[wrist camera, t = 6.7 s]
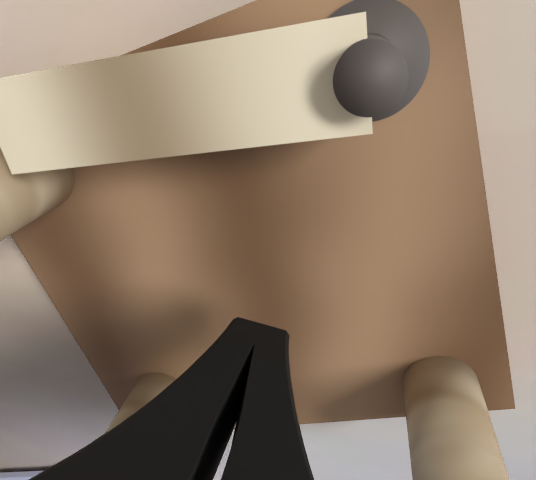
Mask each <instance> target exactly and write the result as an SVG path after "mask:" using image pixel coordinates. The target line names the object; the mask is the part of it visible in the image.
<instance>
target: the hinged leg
mask: <svg viewBox="0 0 536 480" xmlns="http://www.w3.org/2000/svg"><path fill="white" fill-rule="evenodd" d="M408 77H409V73H408V66H407V63H406V60H405V58H404V56H403V54H402V53H401V52H400V50H398V49H397V48H396V47H395V46H394V45H393V44H392V43H391V42H390V41H389V40H388V39H387V38H385V37H384V36H382V35H379V34H375V33H367V20H366V12H361V13H355V14H350V15H344V16H339V17H333V18H328V19H322V20H316V21H311V22H305V23H300V24H294V25H289V26H283V27H278V28H272V29H267V30H261V31H256V32H250V33H245V34H239V35H234V36H228V37H223V38H217V39H211V40H206V41H200V42H195V43H189V44H184V45H178V46H173V47H167V48H162V49H156V50H151V51H145V52H140V53H134V54H129V55H123V56H117V57H112V58H106V59H101V60H95V61H90V62H84V63H79V64H73V65H68V66H62V67H57V68H51V69H46V70H40V71H35V72H29V73H24V74H18V75H12V76H7V77H1V78H0V148H1V150H2V152H3V155H4V157H5V159H6V162H7V164H8V166H9V169H10V171H11V173H12V174H21V173H30V172H39V171H48V170H57V169H66V168H75V167H83V166H92V165H101V164H110V163H119V162H128V161H137V160H146V159H154V158H163V157H172V156H181V155H190V154H199V153H208V152H216V151H225V150H234V149H243V148H252V147H261V146H270V145H279V144H287V143H296V142H305V141H314V140H323V139H332V138H341V137H349V136H358V135H367V134H373V128H372V117H376V116H379V115H382V114H384V113H386V112H388V111H390V110H391V109H392V108H393V107H395V106H396V105H397V104H398V102H399V101H400V100H401V98H402V97H403V95H404V93H405V91H406V88H407V85H408Z"/></svg>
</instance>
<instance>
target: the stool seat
mask: <svg viewBox="0 0 536 480" xmlns="http://www.w3.org/2000/svg"><path fill="white" fill-rule="evenodd" d="M361 12H366V20H367V33H375V34H379V35H382V36H384V37H385V38H387V39H388V40H389V41H390V42H391V43H392V44H393V45H394V46H395V47H396V48H397V49H398V50H400V52H401V53H402V54H403V56H404V58H405V60H406V63H407V66H408V73H409V77H408V85H407V88H406V91H405V93H404V95H403V97H402V98H401V100H400V101H399V102H398V104H397V105H396V106H395V107H393V108H392V109H391V110H390V111H388V112H386V113H384V114H382V115H379V116H376V117H372V128H373V134H367V135H358V136H349V137H341V138H332V139H323V140H314V141H305V142H296V143H287V144H279V145H270V146H261V147H252V148H243V149H234V150H225V151H216V152H208V153H199V154H190V155H181V156H172V157H163V158H154V159H146V160H137V161H128V162H119V163H110V164H101V165H92V166H83V167H75V168H66V169H57V170H48V171H39V172H30V173H21V174H12V173H11V171H10V169H9V166H8V164H7V162H6V159H5V157H4V155H3V152H2V150H1V148H0V241H1V240H2V239H4V238H6V237H7V236H9V235H11V236H12V237H13V239H14V241H15V242H16V244H17V245H18V247H19V249H20V250H21V252H22V253H23V255H24V257H25V258H26V260H27V262H28V263H29V265H30V266H31V268H32V270H33V271H34V273H35V275H36V276H37V278H38V279H39V281H40V283H41V284H42V286H43V287H44V289H45V291H46V292H47V294H48V296H49V297H50V299H51V300H52V302H53V304H54V305H55V307H56V309H57V310H58V312H59V313H60V315H61V317H62V318H63V320H64V321H65V323H66V325H67V326H68V328H69V330H70V331H71V333H72V334H73V336H74V338H75V339H76V341H77V343H78V344H79V346H80V347H81V349H82V351H83V352H84V354H85V355H86V357H87V359H88V360H89V362H90V364H91V365H92V367H93V368H94V370H95V372H96V373H97V375H98V376H99V378H100V380H101V381H102V383H103V385H104V386H105V388H106V389H107V391H108V393H109V394H110V396H111V398H112V399H113V401H114V402H115V404H116V406H117V407H118V409H119V412H118V413H117V415H116V416H115V418H114V420H113V421H112V423H111V424H110V426H109V428H108V429H107V431H106V432H105V433H107V432H108V431H110V430H111V429H113V428H114V427H116V426H117V425H119V424H120V423H122V422H123V421H124V420H126V419H127V418H128V417H130V416H131V415H133V414H134V413H135V412H137V411H138V410H139V409H141V408H142V407H143V406H145V405H146V404H147V403H148V402H150V401H151V400H152V399H153V398H155V397H156V396H157V395H158V394H160V393H161V392H162V391H163V390H164V389H165V388H166V387H168V386H169V385H170V384H171V383H172V382H173V381H175V380H176V379H177V378H178V377H179V376H180V375H182V374H183V373H184V372H185V371H186V370H187V369H188V368H189V367H190V366H191V365H192V364H193V363H194V362H195V361H196V360H197V359H198V358H199V357H200V356H201V355H202V354H203V353H204V352H205V351H206V350H207V349H208V348H209V347H210V346H211V345H212V344H213V343H214V342H215V341H216V340H217V339H218V337H219V336H220V335H221V334H222V333H223V332H224V330H225V329H226V328H227V327H228V325H229V324H230V323H231V321H232V320H233V319H235V318H237V317H240V318H244V319H247V320H251V321H254V322H258V323H262V324H265V325H269V326H272V327H276V328H279V329H283V330H286V331H287V332H288V334H289V335H290V337H289V365H290V376H291V383H292V390H293V396H294V402H295V408H296V412H297V417H298V422H299V424H310V423H324V422H337V421H351V420H365V419H379V418H392V417H406V420H407V429H408V439H409V448H410V458H411V467H412V477H413V480H509V477H508V473H507V470H506V467H505V464H504V460H503V457H502V454H501V451H500V448H499V445H498V441H497V438H496V435H495V432H494V429H493V425H492V422H491V419H490V416H489V413H488V411H489V410H502V409H515V403H514V396H513V389H512V381H511V374H510V367H509V359H508V352H507V345H506V338H505V330H504V323H503V316H502V309H501V301H500V294H499V287H498V280H497V272H496V265H495V258H494V250H493V243H492V236H491V229H490V221H489V214H488V207H487V200H486V192H485V185H484V178H483V171H482V163H481V156H480V149H479V141H478V134H477V127H476V120H475V112H474V105H473V98H472V91H471V83H470V76H469V69H468V61H467V54H466V47H465V40H464V32H463V25H462V18H461V11H460V3H459V0H256V1H254V2H251V3H249V4H246V5H244V6H242V7H239V8H237V9H234V10H232V11H229V12H227V13H224V14H222V15H219V16H217V17H215V18H212V19H210V20H207V21H205V22H202V23H200V24H197V25H195V26H192V27H190V28H188V29H185V30H183V31H180V32H178V33H175V34H173V35H170V36H168V37H165V38H163V39H161V40H158V41H156V42H153V43H151V44H148V45H146V46H143V47H141V48H138V49H136V50H133V51H131V52H129V53H126V54H124V55H129V54H134V53H140V52H145V51H151V50H156V49H162V48H167V47H173V46H178V45H184V44H189V43H195V42H200V41H206V40H211V39H217V38H223V37H228V36H234V35H239V34H245V33H250V32H256V31H261V30H267V29H272V28H278V27H283V26H289V25H294V24H300V23H305V22H311V21H316V20H322V19H328V18H333V17H339V16H344V15H350V14H355V13H361ZM121 56H123V55H121ZM235 427H236V424H235ZM235 427H234V429H235Z"/></svg>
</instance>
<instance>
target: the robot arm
mask: <svg viewBox="0 0 536 480" xmlns="http://www.w3.org/2000/svg"><path fill="white" fill-rule="evenodd" d="M289 337H290V335H289V334H288V332H287V331H286V330H283V329H279V328H276V327H272V326H269V325H265V324H262V323H258V322H254V321H251V320H247V319H244V318H240V317H237V318H235V319H233V320H232V321H231V323H230V324H229V325H228V327H227V328H226V329H225V330H224V332H223V333H222V334H221V335H220V336H219V337H218V339H217V340H216V341H215V342H214V343H213V344H212V345H211V346H210V347H209V348H208V349H207V350H206V351H205V352H204V353H203V354H202V355H201V356H200V357H199V358H198V359H197V360H196V361H195V362H194V363H193V364H192V365H191V366H190V367H189V368H188V369H187V370H186V371H185V372H184V373H183V374H182V375H180V376H179V377H178V378H177V379H176V380H175V381H173V382H172V383H171V384H170V385H169V386H168V387H166V388H165V389H164V390H163V391H162V392H161V393H160V394H158V395H157V396H156V397H155V398H153V399H152V400H151V401H150V402H148V403H147V404H146V405H145V406H143V407H142V408H141V409H139V410H138V411H137V412H135V413H134V414H133V415H131V416H130V417H128V418H127V419H126V420H124V421H123V422H122V423H120V424H119V425H117V426H116V427H114V428H113V429H111V430H110V431H108V432H107V433H105V434H104V435H102V436H101V437H99V438H98V439H96V440H95V441H93V442H92V443H90V444H89V445H87V446H86V447H84V448H82V449H81V450H79V451H78V452H76V453H74V454H73V455H71V456H69V457H68V458H66V459H64V460H62V461H61V462H59V463H57V464H55V465H53V466H52V467H50V468H48V469H46V470H45V471H24V472H2V473H0V480H213V478H214V476H215V473H216V471H217V468H218V466H219V463H220V461H221V459H222V456H223V454H224V451H225V449H226V446H227V444H228V441H229V439H230V436H231V434H232V432H233V429H234V427H235V424H236V427H235V431H234V436H233V441H232V446H231V450H230V454H229V457H228V460H227V463H226V466H225V469H224V472H223V475H222V478H221V480H314V478H313V475H312V471H311V468H310V465H309V462H308V458H307V454H306V451H305V447H304V443H303V439H302V435H301V431H300V426H299V422H298V417H297V412H296V408H295V402H294V396H293V390H292V383H291V376H290V365H289Z"/></svg>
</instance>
